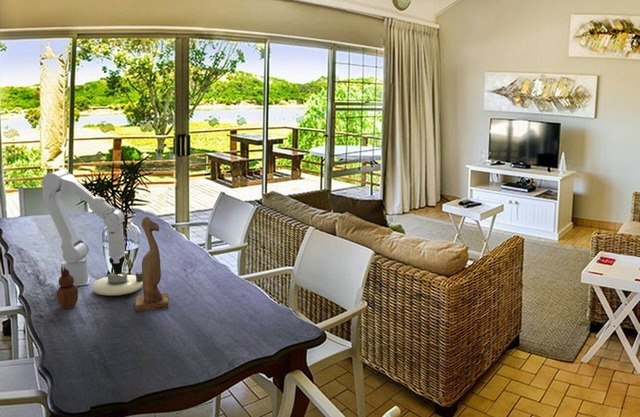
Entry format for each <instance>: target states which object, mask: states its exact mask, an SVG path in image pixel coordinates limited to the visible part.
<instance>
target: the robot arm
mask: <svg viewBox="0 0 640 417" xmlns="http://www.w3.org/2000/svg"><path fill="white" fill-rule="evenodd" d="M41 185H42V199H43V201H44V203H45V205H46V209H47V210H48V212H49V214H50V216H51V218H52V222H53V224H54V225H55V228H56V230H57V232H58V234H59V236H60V238H61V245H60V248H61V251H62V258H63V260H64V261H62V262H60V268H61V267H62V268H63V271H64V267H65V269H67V270H69V273H70V275H71V276H73V278H74V283H73V285H75V286H76V287H79V286H82V287H83V286H89V285H90V281H91V277H90V276H89V273H88V261H87V255H88V254H89V252H90V248H89V246H88V244H87V243H86V242H85V241H84V240H83V238H82V237H81V236H80V235H78V234H77V232H76V229H75V227H74V226H73V223H72V221H71V220H70V217H69V214H68V213H67V210H66V208H65V206H64V204H63V201H62V199H61V197H60V196H61V195H62V193H63V191H66V192H67V191H69V192H72V193H73V194H74V195H76V196H78V197H79V198H80V199H82V201H84V202H86V203H87V204H88V208H89V209H90V210H91V211H92V212H93V213H95V215H97V216H98V217H99V218H101V219H102V220H103V223H104V225H105V226H106V230H107V244H108V245H107V248H108V253H107V254H108V257H109V263H110V265H111V267H112V270H113V273H114V272H123V265H124V263H125V260H126V255H128V254H129V251H127V250H125V241H124V240H125V238H124V237H125V236H124V228H123V227H124V223H123V222H124V221H125V214H124V212H123V211H122V210H121V209H118V208H116V207H115V206H112V205H111V204H110V203H108V202H107V201H106V199H105V198H104V197H101V196H94V194H93V193H91V192H90V191H89V190H88V189H87V188H86V187H85V186H84V185H82V184H81V183H80V181H79V180H77V179H76V176H74V175H73V174H71V173H70V172H69V171H67V170H66V169H58V170H56V171H52V172H49V173H46V174H45V175H44V177H43V178H42V180H41Z"/></svg>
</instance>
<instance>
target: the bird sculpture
mask: <svg viewBox="0 0 640 417" xmlns="http://www.w3.org/2000/svg"><path fill="white" fill-rule="evenodd" d="M140 225H141V227H142V229H143V231H144V233H145V237H146V238H147V243H148V248H149V250H148V251H147V252H146V253H145V255H144V256H143V257H142V260H141V272H142V281H143V286H142V292H143V294H142V295H136V297H135V298H136V299H135V311H136V312H135V313H137V312H138V313H140V312H146V311H148V312H149V311H157V310H158V311H160V310H168V309H169V292H166V293H164V292H163V293H161V291H160V289H159V287H158V285H159V283H160V282H161V278H162V271H161V256H160V249H159V246H158V243H157V240H156V239H155V236H154V234H153V232H154V231H155V232H160V226H159V224H158V223H157V222H154V221H153V220H152V219H150V217H149V216H145V217H143V219H142V220H141V224H140Z"/></svg>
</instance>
